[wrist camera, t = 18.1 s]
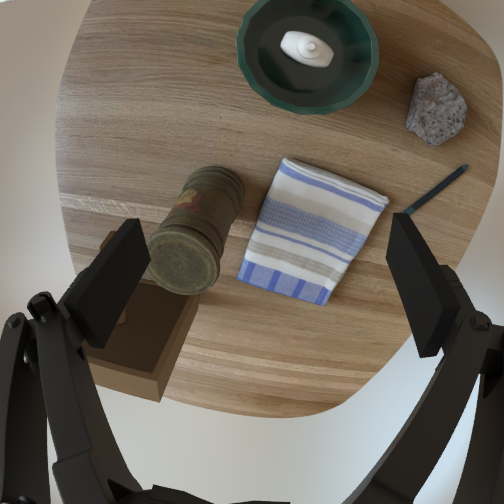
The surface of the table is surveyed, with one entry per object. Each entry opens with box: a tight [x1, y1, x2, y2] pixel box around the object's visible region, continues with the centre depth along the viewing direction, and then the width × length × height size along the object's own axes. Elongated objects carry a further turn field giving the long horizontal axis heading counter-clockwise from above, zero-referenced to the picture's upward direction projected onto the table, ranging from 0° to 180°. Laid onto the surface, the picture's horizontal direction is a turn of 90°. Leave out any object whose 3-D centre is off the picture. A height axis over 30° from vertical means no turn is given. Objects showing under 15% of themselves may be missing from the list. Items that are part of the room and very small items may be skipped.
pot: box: [236, 0, 379, 115], centre depth 29 cm, size 15×15×9 cm
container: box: [146, 166, 244, 295], centre depth 38 cm, size 9×9×18 cm
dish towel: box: [237, 157, 390, 306], centre depth 47 cm, size 17×24×3 cm
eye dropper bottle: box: [280, 31, 334, 67], centre depth 27 cm, size 4×6×12 cm
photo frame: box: [82, 231, 199, 402], centre depth 45 cm, size 15×22×25 cm
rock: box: [406, 72, 467, 146], centre depth 32 cm, size 9×11×4 cm
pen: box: [402, 164, 468, 215], centre depth 41 cm, size 1×16×1 cm, turn 137°
